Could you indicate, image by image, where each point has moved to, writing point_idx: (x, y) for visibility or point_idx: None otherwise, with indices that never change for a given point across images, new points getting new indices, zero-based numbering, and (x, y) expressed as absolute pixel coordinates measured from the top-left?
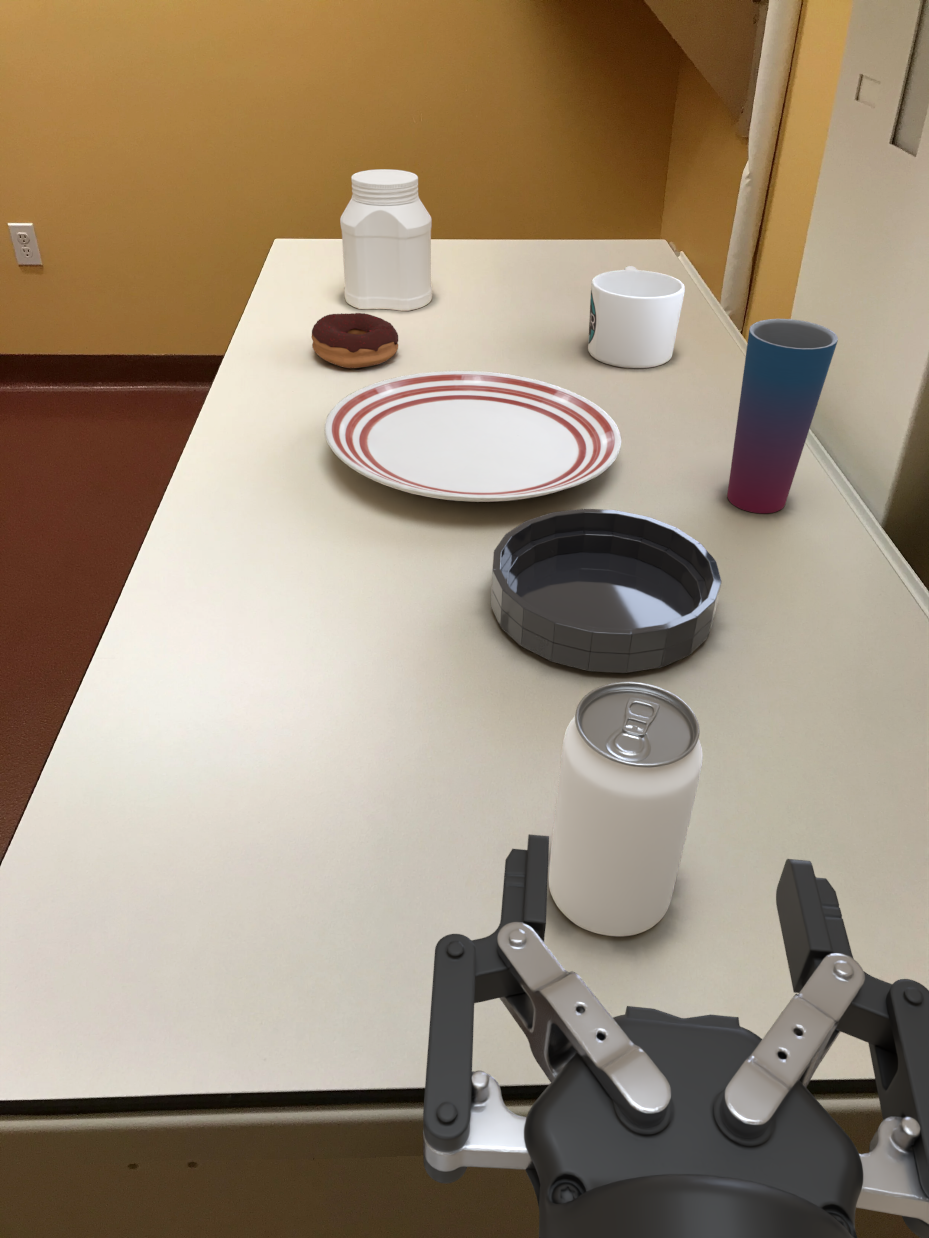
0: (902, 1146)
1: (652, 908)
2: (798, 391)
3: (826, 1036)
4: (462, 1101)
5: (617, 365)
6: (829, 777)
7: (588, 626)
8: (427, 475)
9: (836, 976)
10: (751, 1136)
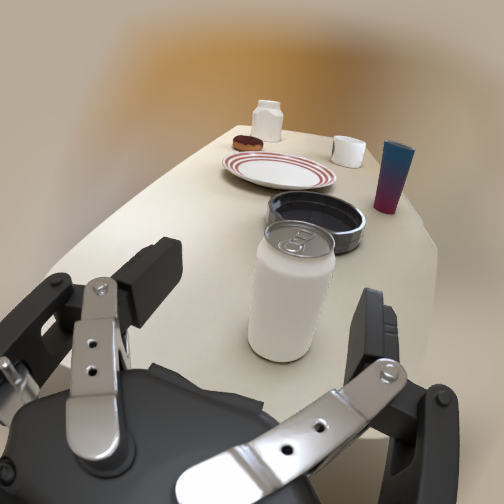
0: None
1: (295, 349)
2: (401, 164)
3: (351, 435)
4: None
5: (340, 165)
6: (397, 308)
7: None
8: (257, 178)
9: (381, 378)
10: None
